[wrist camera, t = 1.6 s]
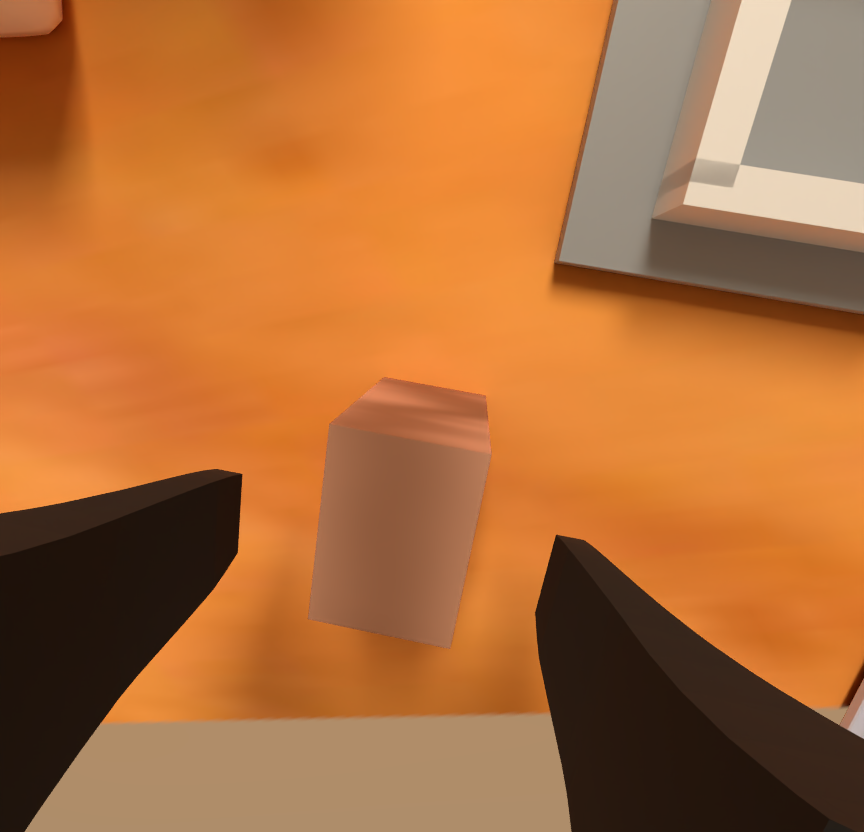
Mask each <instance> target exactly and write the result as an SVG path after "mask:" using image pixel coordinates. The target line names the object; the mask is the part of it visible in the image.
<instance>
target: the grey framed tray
mask: <svg viewBox="0 0 864 832" xmlns="http://www.w3.org/2000/svg"><path fill="white" fill-rule="evenodd" d="M554 263H558V264H564V265H570V266H576V267H582V268H588V269H594V270H600V271H606V272H612V273H618V274H624V275H630V276H636V277H642V278H648V279H654V280H660V281H666V282H672V283H678V284H684V285H690V286H696V287H702V288H708V289H714V290H720V291H726V292H732V293H738V294H744V295H749V296H755V297H761V298H767V299H773V300H779V301H785V302H791V303H797V304H803V305H809V306H815V307H821V308H827V309H833V310H839V311H845V312H851V313H857V314H863V315H864V0H614V1H613V5H612V10H611V14H610V19H609V23H608V27H607V32H606V36H605V41H604V45H603V50H602V54H601V58H600V63H599V67H598V72H597V76H596V81H595V85H594V89H593V94H592V98H591V103H590V107H589V112H588V116H587V120H586V125H585V129H584V134H583V138H582V142H581V147H580V151H579V156H578V160H577V165H576V169H575V173H574V178H573V182H572V187H571V191H570V196H569V200H568V204H567V209H566V213H565V218H564V222H563V227H562V231H561V235H560V240H559V244H558V249H557V253H556V258H555V262H554Z"/></svg>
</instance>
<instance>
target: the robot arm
mask: <svg viewBox="0 0 864 832" xmlns="http://www.w3.org/2000/svg"><path fill="white" fill-rule="evenodd" d="M241 487H242V474H240V473H234V472H229V471H224V470H219V469H213V470H205V471H199V472H194V473H189V474H185V475H181V476H176V477H172V478H168V479H164V480H160V481H156V482H152V483H148V484H144V485H140V486H136V487H132V488H128V489H124V490H120V491H115V492H110V493H106V494H101V495H97V496H92V497H88V498H83V499H79V500H74V501H70V502H65V503H60V504H55V505H49V506H44V507H38V508H33V509H26V510H20V511H13V512H7V513H1V514H0V832H25V830H26V829H27V827H28V825H29V824H30V823H31V821H32V819H33V818H34V817H35V815H36V814H37V812H38V811H39V809H40V808H41V806H42V805H43V803H44V802H45V801H46V799H47V798H48V796H49V795H50V793H51V792H52V791H53V789H54V788H55V786H56V785H57V783H58V782H59V781H60V779H61V778H62V776H63V775H64V773H65V772H66V771H67V769H68V768H69V766H70V765H71V763H72V762H73V761H74V759H75V758H76V756H77V755H78V753H79V752H80V750H81V749H82V748H83V747H84V745H85V744H86V742H87V741H88V740H89V738H90V737H91V735H92V734H93V733H94V731H95V730H96V729H97V727H98V726H99V725H100V723H101V722H102V721H103V719H104V718H105V717H106V715H107V714H108V713H109V711H110V710H111V708H112V707H113V706H114V704H115V703H116V702H117V700H118V699H119V698H120V696H121V695H122V694H123V693H124V692H125V690H126V689H127V688H128V687H129V685H130V684H131V683H132V682H133V681H134V679H135V678H136V677H137V676H138V675H139V673H140V672H141V671H142V670H143V669H144V668H145V667H146V666H147V664H148V663H149V662H150V661H151V660H152V659H153V658H154V656H155V655H156V654H157V653H158V652H159V651H160V650H161V649H162V647H163V646H164V645H165V644H166V643H167V642H168V641H169V640H170V638H171V637H172V636H173V635H174V634H175V633H176V632H177V631H178V629H179V628H180V627H181V626H182V625H183V624H184V623H185V622H186V620H187V619H188V618H189V617H190V616H191V615H192V614H193V612H194V611H195V610H196V609H197V608H198V607H199V606H200V604H201V603H202V602H203V601H204V600H205V599H206V597H207V596H208V595H209V594H210V593H211V592H212V590H213V589H214V588H215V586H216V585H217V583H218V582H219V580H220V579H221V578H222V576H223V575H224V573H225V572H226V570H227V569H228V567H229V565H230V564H231V562H232V561H233V559H234V558H235V556H236V554H237V553H238V539H239V522H240V505H241ZM535 616H536V631H537V643H538V654H539V660H540V665H541V670H542V675H543V680H544V684H545V689H546V694H547V699H548V703H549V708H550V713H551V717H552V722H553V726H554V731H555V736H556V740H557V745H558V750H559V754H560V759H561V763H562V768H563V774H564V780H565V785H566V791H567V798H568V806H569V814H570V822H571V831H572V832H864V679H863V681H862V683H861V685H860V687H859V689H858V690H857V692H856V694H855V696H854V698H853V700H852V702H851V704H850V706H849V708H848V710H847V712H846V714H845V715H844V717H843V719H842V721H841V723H840V725H838V724H836V723H834V722H833V721H831V720H829V719H827V718H826V717H824V716H822V715H820V714H819V713H817V712H815V711H814V710H812V709H811V708H809V707H807V706H806V705H804V704H802V703H801V702H799V701H797V700H796V699H794V698H792V697H791V696H789V695H787V694H786V693H784V692H782V691H781V690H779V689H777V688H776V687H774V686H773V685H771V684H769V683H768V682H766V681H765V680H763V679H762V678H760V677H758V676H757V675H755V674H754V673H752V672H751V671H749V670H748V669H746V668H745V667H743V666H742V665H740V664H739V663H738V662H736V661H735V660H733V659H732V658H730V657H729V656H727V655H726V654H725V653H723V652H722V651H720V650H719V649H717V648H716V647H714V646H713V645H712V644H710V643H709V642H707V641H706V640H705V639H703V638H702V637H701V636H699V635H698V634H697V633H695V632H694V631H693V630H691V629H690V628H689V627H688V626H686V625H685V624H684V623H683V622H681V621H680V620H679V619H677V618H676V617H675V616H674V615H672V614H671V613H670V612H669V611H667V610H666V609H665V608H664V607H662V606H661V605H660V604H659V603H658V602H656V601H655V600H654V599H653V598H652V597H650V596H649V595H648V594H647V593H646V592H645V591H643V590H642V589H641V588H640V587H639V586H638V585H636V584H635V583H634V582H633V581H632V580H631V579H630V578H628V577H627V576H626V575H625V574H624V573H623V572H622V571H621V570H619V569H618V568H617V567H616V566H615V565H614V564H613V563H611V562H610V561H609V560H608V559H607V558H606V557H605V556H603V555H602V554H601V553H600V552H599V551H598V550H596V549H595V548H594V547H593V546H591V545H590V544H589V543H587V542H586V541H584V540H581V539H575V538H570V537H565V536H560V535H556V537H555V541H554V544H553V548H552V552H551V556H550V559H549V563H548V567H547V571H546V574H545V578H544V582H543V586H542V589H541V593H540V597H539V600H538V604H537V608H536V612H535Z"/></svg>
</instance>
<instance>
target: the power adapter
mask: <svg viewBox="0 0 864 832" xmlns="http://www.w3.org/2000/svg"><path fill="white" fill-rule="evenodd" d="M62 20H63V16H62V0H0V38H1V37H24V36H36V35H46V34H49V33H50V32H51V31H52V30H53V29H54V28H55V27H56V26H57V25H58V24H59V23H60V22H61V21H62Z"/></svg>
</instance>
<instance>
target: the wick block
mask: <svg viewBox="0 0 864 832" xmlns="http://www.w3.org/2000/svg"><path fill="white" fill-rule="evenodd" d="M490 459H491V444H490V434H489V424H488V414H487V404H486V396H485V395H480V394H474V393H469V392H463V391H458V390H452V389H447V388H441V387H436V386H430V385H425V384H419V383H413V382H408V381H402V380H397V379H391V378H386V377H384V378H383V379H381V380H380V381H379V382H378V383H377V384H376V385H374V386H373V387H372V388H371V389H370V390H369V391H367V392H366V393H365V394H364V395H363V396H362V397H360V398H359V399H358V400H357V401H356V402H355V403H353V404H352V405H351V406H350V407H349V408H347V409H346V410H345V411H344V412H343V413H342V414H340V415H339V416H338V417H337V418H336V419H335V420H333V421H332V422H331V423H330V424H329V433H328V442H327V451H326V460H325V469H324V478H323V488H322V497H321V506H320V515H319V524H318V533H317V542H316V551H315V561H314V570H313V579H312V588H311V597H310V606H309V615H308V619H310V620H315V621H319V622H324V623H329V624H334V625H338V626H343V627H348V628H353V629H357V630H362V631H367V632H372V633H376V634H381V635H386V636H391V637H396V638H400V639H405V640H410V641H415V642H419V643H424V644H429V645H434V646H438V647H443V648H448V649H450V647H451V643H452V638H453V633H454V629H455V624H456V619H457V614H458V610H459V605H460V600H461V596H462V591H463V586H464V582H465V577H466V572H467V567H468V563H469V558H470V553H471V549H472V544H473V539H474V534H475V530H476V525H477V520H478V516H479V511H480V506H481V502H482V497H483V492H484V487H485V483H486V478H487V473H488V469H489V464H490Z"/></svg>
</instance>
